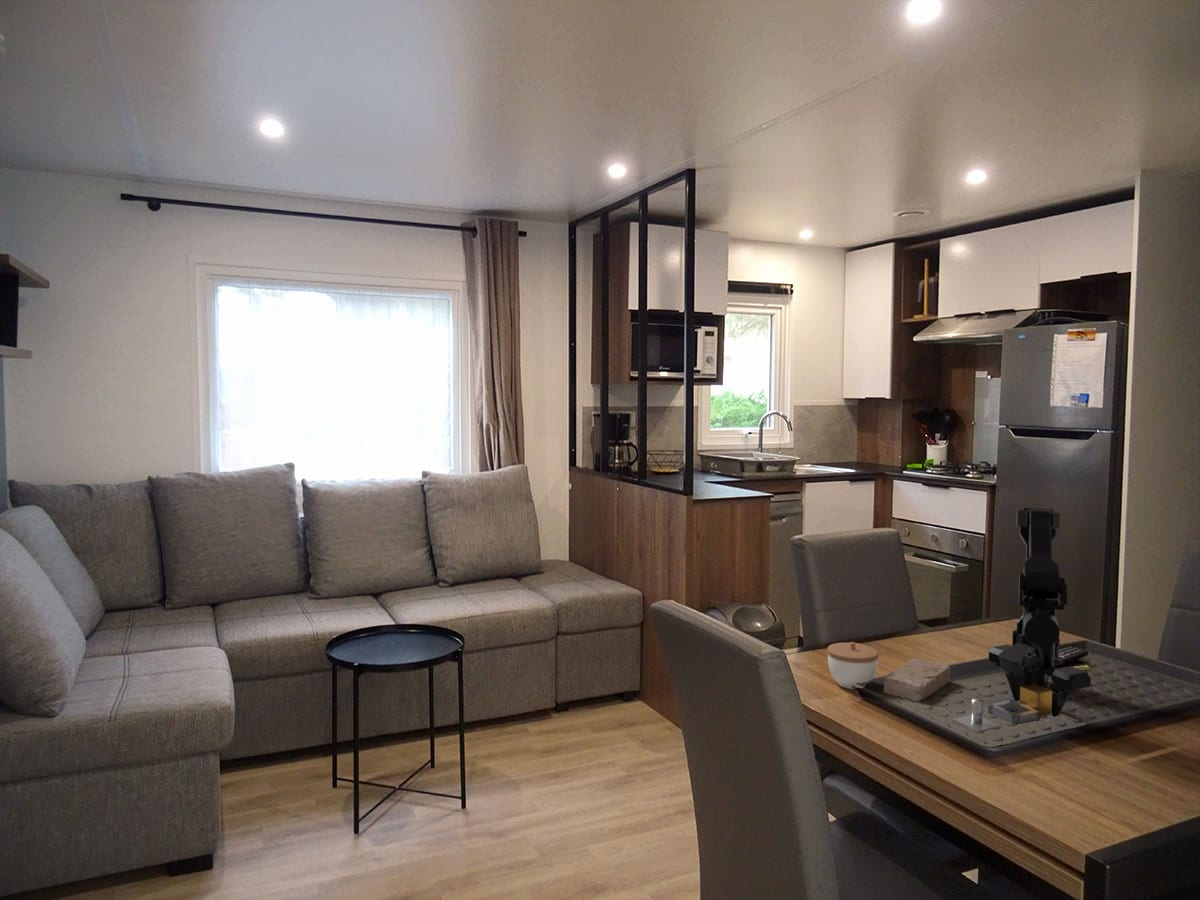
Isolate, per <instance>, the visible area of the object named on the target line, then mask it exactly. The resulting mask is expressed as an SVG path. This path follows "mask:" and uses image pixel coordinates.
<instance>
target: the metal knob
mask: <svg viewBox="0 0 1200 900" xmlns="http://www.w3.org/2000/svg"><path fill="white" fill-rule="evenodd" d="M970 701H971V704H970V705H971V715H968V716H963V717H958V718H954V719H952V721H953V722H956V723H958V724H960V725H962V726H964V727H967V728H969V729H971V730H974V731H976V732H981V731H986V730H990V729H996V728H1001V726H1000V725H998V724H996V723H994V722H992V721H990V720H987V719H985V718H983V717H982V715H983V702H984V700H983V699H981V698H978V697H972V698H971V700H970Z"/></svg>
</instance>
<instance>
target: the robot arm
mask: <svg viewBox="0 0 1200 900" xmlns="http://www.w3.org/2000/svg"><path fill="white" fill-rule="evenodd" d="M1015 518H1016V519H1015V520H1016V522H1015V525H1016V526H1015V527H1017V528H1018V527H1019V531H1018V532H1019V533H1018V534H1019V537H1020V539H1021V540H1022V541H1023V543H1024V545H1025V547H1026V550H1025V551H1026V554H1025V555H1026V557H1025V561H1024V562H1023V570H1022V572H1019V575H1018V577H1019V578H1018V606H1020V607H1021V606H1022V607H1023V609H1022V610H1023V611H1022V615H1021V616H1020V618H1019V619H1018V620H1017V622H1016V625H1015V630H1012V635H1011V636H1012V637H1011V645H1010V644H1008V643H1007V644H1002V645H995V646H992V647H991V648H990V649H989V651H988V659H987V660H988V661H990V662H992V663H995V664H994V665H995V667H997V668H998V669H1000V670H1001V671H1002V672H1003V673H1004V675H1005V677H1006V679H1007V682H1008V684H1009V688H1010V691H1011V695H1012V696H1013V697H1014V700H1015V701H1019V700H1020V687H1021V686H1026V685H1031V684H1036V685H1039V686H1041V687H1044V688H1047V689H1048V688H1049V690H1052V708H1051V709H1052V716H1054V717H1055V716H1058V714H1059V713H1060V712H1061V711H1062V709H1063V708H1064V706H1065V704H1066V703H1067V701H1068V700H1069V698H1070V697H1071V695H1072V694H1073V693H1074V692H1075V691H1077V690H1080V689H1086V688H1090V687H1091V686H1092V684H1091V681H1092V677H1091V675H1090V674H1089V672H1088V671H1086V670H1082V669H1080V668H1078V667H1074V666H1072V665H1070V666H1065V667H1060V668H1059V667H1056V666H1055V665H1058V664H1060V663H1059V661H1060V660H1059V655H1060V654H1059V652H1060V642H1061V641H1060V640H1061V639H1060V632H1061V630H1060V626H1059V623H1058V619H1057V611H1059V610H1060V611H1064V610H1065V606H1067V605H1068V582H1066V579H1065V577H1064V576H1061V571H1060V564H1058V563H1057V562H1056V560H1054V559H1053V549H1052V548H1053V547H1052V543H1053V540H1054V538H1055V537H1056V535H1057V534H1056V533H1057V531H1056V530H1058V531H1059V530H1061V512H1055V511H1054V508H1050V507H1049V508H1048V507H1035V506H1034V507H1032V506H1023V507H1022V510H1016V517H1015ZM1023 597H1024V598H1023ZM1058 599H1059V600H1058ZM1049 676H1050V677H1051V678H1050V680H1051V682H1052V683H1049Z"/></svg>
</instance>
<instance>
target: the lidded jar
mask: <svg viewBox="0 0 1200 900" xmlns="http://www.w3.org/2000/svg"><path fill="white" fill-rule="evenodd" d="M826 649H827V663H828V670H829V672H830V674H831V677H832V678H833V679H834V680H835V681H836V682H837V684H838V685H839V686H840V687H841V688H845V689H849V690H854V689H853V688H852V685H853V684H854V683H863V682H868V681H870V680H872V679H873V680H874V678H875V676H876V674H877V669H878V659H879V652H878V650H877V649H875V648H874V647H872V646H869V645H867V644H862V643H857V642H854V641H851V642H837V643H831V644H830V645H828V647H827V648H826ZM873 680H872V681H873Z"/></svg>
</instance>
